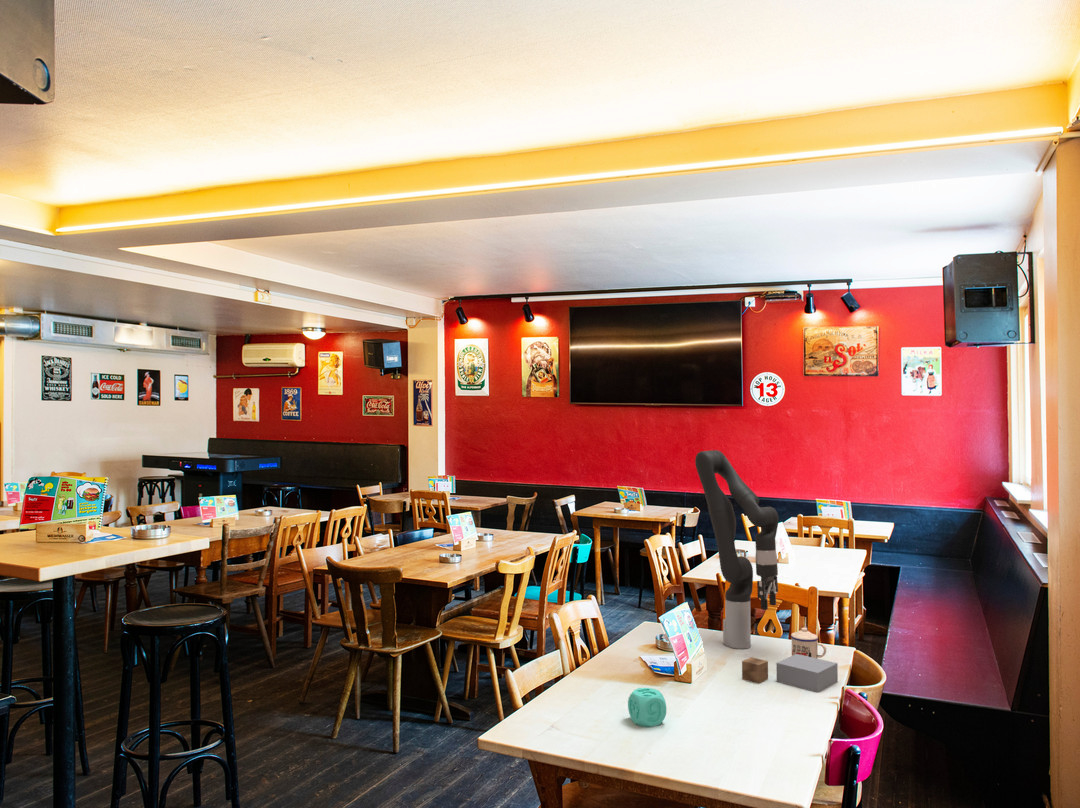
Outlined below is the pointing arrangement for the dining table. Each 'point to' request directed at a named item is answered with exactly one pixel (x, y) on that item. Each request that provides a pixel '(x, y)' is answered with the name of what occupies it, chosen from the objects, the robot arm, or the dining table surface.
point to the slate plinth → (807, 672)
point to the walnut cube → (755, 670)
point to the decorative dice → (647, 707)
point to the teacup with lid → (806, 644)
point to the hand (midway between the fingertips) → (768, 607)
